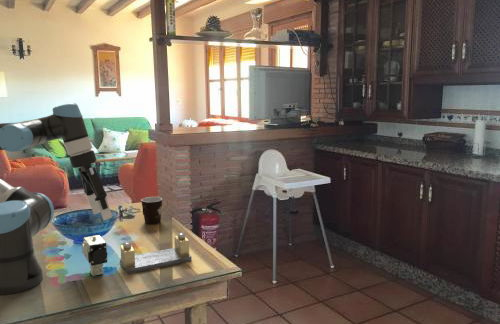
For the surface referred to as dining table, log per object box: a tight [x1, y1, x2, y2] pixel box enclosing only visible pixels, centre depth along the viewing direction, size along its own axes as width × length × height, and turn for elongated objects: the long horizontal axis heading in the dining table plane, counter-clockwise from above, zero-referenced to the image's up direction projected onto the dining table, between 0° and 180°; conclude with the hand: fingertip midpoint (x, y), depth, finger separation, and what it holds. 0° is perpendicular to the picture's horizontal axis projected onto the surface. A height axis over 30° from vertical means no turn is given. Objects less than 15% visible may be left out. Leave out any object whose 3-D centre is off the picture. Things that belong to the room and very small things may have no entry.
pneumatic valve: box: [81, 234, 108, 277], centre depth 132 cm, size 6×12×12 cm, turn 32°
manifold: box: [119, 232, 193, 275], centre depth 141 cm, size 21×10×8 cm, turn 118°
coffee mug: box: [140, 196, 163, 226], centre depth 179 cm, size 12×9×10 cm
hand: (102, 215), depth 138 cm, fingers open, 13 cm apart
